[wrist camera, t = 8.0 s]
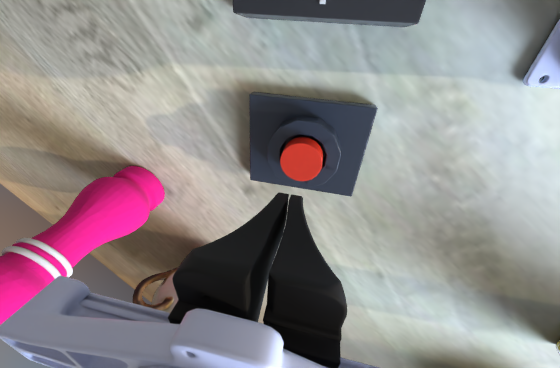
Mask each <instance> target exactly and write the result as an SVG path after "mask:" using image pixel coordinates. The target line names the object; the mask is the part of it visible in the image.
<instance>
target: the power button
mask: <svg viewBox="0 0 560 368" xmlns="http://www.w3.org/2000/svg"><path fill="white" fill-rule="evenodd" d="M322 162H323V152H322V149H321V147H320V145H319V144H318V143H317V142H316V141H314V140H313V139H311V138H307V137H297V138H294V139H292V140H291V141H289V142H288V143H287V145H286V146H285V148H284V150H283V152H282V155H281V158H280V164H281V168H282V170H283V171H284V173H285V174H286V175H287V176H288V177H290V178H291V179H294V180H297V181H307V180H311V179H313V178H314V177H316V176H317V175H318V174H319V172H320V171H321V168H322Z"/></svg>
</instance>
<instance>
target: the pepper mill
mask: <svg viewBox="0 0 560 368" xmlns="http://www.w3.org/2000/svg"><path fill="white" fill-rule="evenodd" d="M164 195H165V193H164V188H163V186H162V184H161V183H160V181H159V180H158V179H157V178H156V177H155V176H154V175H153V174H152V173H151V172H149V171H148V170H146V169H144V168H141V167H138V166H129V167H126V168H124V169H123V170H121V171H119V172H117V173H116V174H115V175H114V176H113V177H102V178H99V179H96V180H95V181H93V182H92V183H90V184H89V185H88V186H86V187H85V188H84V189H83V190H82V191H81V192H80V193H79V195H78V196H77V197H76V199H75V200H74V202H73V203H72V205H71V206H70V208H69V209H68V211H67V212H66V214H65V215H64V216H63V217H62V218H61V219H60V220H59V221H58V222H57V223H56V224H54V225H53V226H51V227H50V228H48V229H47V230H46V231H44V232H42V233H40V234H38V235H36V236H35V237H33V238H21V239H19V240H17V241H16V243H15V244H13V245H12V246H9V247H6V248H4V249H3V251H2V256H0V325H1V324H2V323H3V322H4V321H6V320H7V319H8V318H9V317H10V316H11V315H13V314H14V313H15V312H16V311H17V310H19V309H20V308H21V307H22V306H23V305H25V304H26V303H27V302H28V301H29V300H31V299H32V298H33V297H34V296H35V295H37V294H38V293H39V292H40V291H41V290H43V289H44V288H45V287H46V286H47V285H49V284H50V283H51V282H52V281H53V280H55V279H56V278H57V277H58V276H64V277H70V276H71V275H72V273H73V269H72V268H73V267H74V266H75V265H76V264H77V263H78V262H79V261H80V260H81V259H82V258H83V257H84V256H86V255H87V254H88V253H89V252H91V251H92V250H93V249H95V248H97V247H98V246H100V245H102V244H104V243H106V242H109V241H111V240H114V239H117V238H120V237H123V236H125V235H128V234H130V233H132V232H133V231H135V230H137V229H138V228H139V227H141V226H142V225H143V224H144V223H145V222H146V221H147V219H148V217H149V213H150V211H152V210H153V209H155V208H156V207H157V206H158V205H159V204H160V203H161V202H162V201H163V199H164Z"/></svg>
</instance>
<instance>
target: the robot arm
mask: <svg viewBox="0 0 560 368" xmlns="http://www.w3.org/2000/svg"><path fill="white" fill-rule="evenodd" d="M542 76H545V77H544V79H543V80H542V81H541V82H539V79H540V78H541V77H542ZM523 83H524V84H525V85H528V86H536V87H547V88H558V89H560V19H559V21H558V22H557V24H556V26H555V27H554V29H553V31H552V32H551V34H550V36H549V37H548V39H547V41H546V42H545V44H544V46H543V47H542V49H541V51H540V52H539V54H538V56H537V57H536V59H535V61H534V62H533V64H532V66H531V67H530V69H529V71H528V72H527V74H526V76H525V77H524V80H523ZM288 197H289V194H285V193H278V194H277V195H276V196H275V197H274V198H273V199H272V200H271V201H270V203H269V204H268V205H267V206H266V207H265V208H264V209H262V210H261V211H260V212H259V213H258V214H257V215H256V216H255V217H253V218H252V219H251V220H250V221H248V222H247V223H246V224H244V225H243V226H241V227H240V228H238V229H237V230H235V231H233V232H232V233H230V234H228V235H226V236H224V237H222V238H220V239H218V240H216V241H214V242H211V243H209V244H206V245H204V246H201V247H198V248H195V249H193V250H192V251H191V252H190V253H189V254H188V255H187V256H186V258H185V259H184V260H183V262H182V263H181V265H180V266H179V267H178V269H177V270H176V272H175V273H174V275H173V278H172V280H173V285H174V288H175V291H176V294H177V297H178V301H177V303H176V305H175V306H174V308H173V309H172V311H171V313H168V312H165V311H161V310H157V309H153V308H149V307H145V306H142V305H138V304H134V303H130V302H126V301H122V300H118V299H115V298H111V297H107V296H103V295H99V294H96V293H91V292H90V290H89V288H88V286H87V285H86V284H85V283H83V282H82V281H79V280H76V279H72V278H68V277H64V276H58V277H57V278H56V279H55V280H53V281H52V282H51V283H50V284H49V285H47V286H46V287H45V288H44V289H43V290H41V291H40V292H39V293H38V294H37V295H35V296H34V297H33V298H32V299H31V300H29V301H28V302H27V303H26V304H25V305H23V306H22V307H21V308H20V309H19V310H17V311H16V312H15V313H14V314H13V315H11V316H10V317H9V318H8V319H7V320H6V321H4V322H3V323H2V324H1V325H0V339H1V340H3V341H4V342H6V343H7V344H8V345H10V346H11V347H12V348H14V349H15V350H17V351H18V352H19V353H21V354H22V355H23V356H25V357H26V358H27V359H29V360H31V361H35V362H37V363H40V364H43V365H46V366H49V367H52V368H379V367H375V366H371V365H368V364H364V363H360V362H356V361H352V360H348V359H345V358H341V357H340V341H341V327H342V325H343V323H344V320H345V318H346V315H347V304H346V299H345V294H344V290H343V287H342V284H341V281H340V280H339V279H338V278H337V277H336V275H335V274H334V273H333V271H332V270H331V269H330V267H329V266H328V264H327V263H326V261H325V260H324V258H323V257H322V255H321V253H320V252H319V250H318V248H317V246H316V244H315V242H314V240H313V238H312V235H311V233H310V230H309V228H308V225H307V222H306V218H305V214H304V209H303V198H302V196H297V195H291V197H290V200H289V205H288ZM287 207H288V212H287ZM286 216H287V220H286ZM285 223H286V225H285ZM284 227H285V229H284ZM283 231H284V232H283ZM281 238H282V239H281ZM280 241H281V242H280ZM279 244H280V245H279ZM278 246H279V248H278ZM277 249H278V250H277ZM276 252H277V253H276ZM275 255H276V256H275ZM274 258H275V259H274ZM273 260H274V261H273ZM272 263H273V264H272ZM267 281H268V295H267V306H266V310H265V314H264V318H263V322H264V324H262V323H259V322H258V319H259V315H260V310H261V306H262V302H263V298H264V293H265V289H266V285H267Z"/></svg>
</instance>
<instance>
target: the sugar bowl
mask: <svg viewBox="0 0 560 368" xmlns="http://www.w3.org/2000/svg"><path fill="white" fill-rule="evenodd" d="M177 269H178V268H175V269H173V270H170V271H167V272H164V273H160V274H155V275H152V276H150V277H148V278H146V279H144V280H143V281H141V282H140V283H139V285H138V286H137V287H136V289H135V291H134V294H133V303H134V304H138V305H142V306H145V307H149V308H153V309H157V310H161V311H165V312H168V313H171V311H172V309H173V308H174V306H175V305H176V303H177V301H178V297H177V294H176V291H175V288H174V285H173V280H172V278H173V275H174V273H175V272H176V270H177ZM163 279H164V281H163V282H162V283H161V284H160V286H159V287H158V289H157V290H156V292H155V294H154V297H153V300H152V304H151V305H148V304H146V303H145V302H144V301H143V299H142V293H143V290H144V288H146V287H147V286H148V285H149V284H151V283H153V282H155V281H158V280H163Z"/></svg>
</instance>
